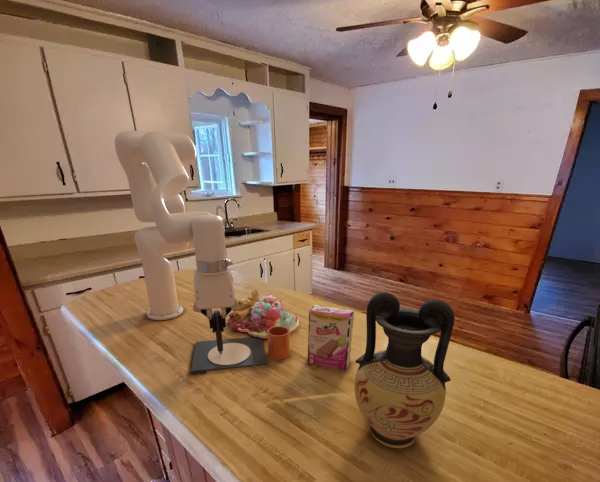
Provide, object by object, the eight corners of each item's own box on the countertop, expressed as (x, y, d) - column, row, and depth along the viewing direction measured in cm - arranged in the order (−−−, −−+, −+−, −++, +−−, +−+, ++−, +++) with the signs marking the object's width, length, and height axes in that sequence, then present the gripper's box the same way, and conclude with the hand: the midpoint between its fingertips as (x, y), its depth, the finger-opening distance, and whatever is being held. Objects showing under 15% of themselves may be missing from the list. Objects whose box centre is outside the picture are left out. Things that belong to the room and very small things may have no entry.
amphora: (431, 411, 76) (456, 286, 64) (443, 472, 61) (478, 323, 49) (353, 399, 79) (363, 278, 68) (345, 454, 64) (357, 311, 53)
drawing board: (196, 344, 103) (195, 341, 102) (261, 338, 106) (261, 335, 106) (191, 374, 88) (190, 370, 88) (267, 366, 92) (266, 362, 92)
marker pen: (217, 352, 96) (213, 310, 91) (223, 351, 96) (219, 310, 91) (217, 355, 94) (213, 313, 89) (223, 354, 95) (219, 312, 90)
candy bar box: (306, 364, 93) (307, 310, 86) (312, 355, 97) (313, 303, 91) (346, 372, 90) (350, 317, 83) (350, 363, 94) (354, 309, 88)
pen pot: (267, 351, 100) (266, 327, 96) (287, 349, 101) (287, 325, 98) (269, 362, 94) (268, 337, 91) (291, 360, 95) (291, 335, 92)
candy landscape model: (213, 327, 111) (211, 301, 108) (252, 305, 131) (252, 283, 128) (279, 343, 101) (279, 315, 98) (311, 316, 121) (311, 292, 118)
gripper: (242, 260, 90) (246, 321, 97) (181, 263, 87) (190, 326, 94) (243, 267, 83) (247, 333, 91) (177, 271, 81) (187, 339, 88)
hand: (218, 329), depth 92 cm, fingers closed on marker pen, 1 cm apart
